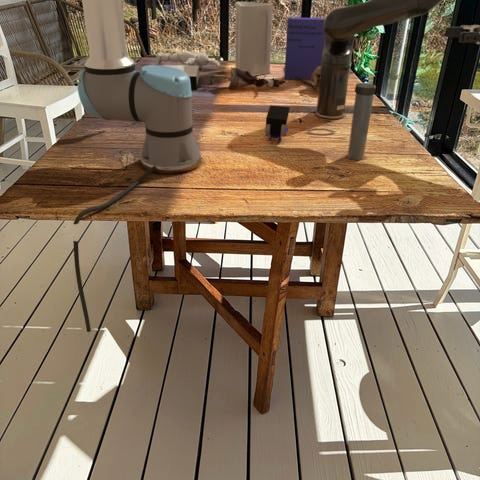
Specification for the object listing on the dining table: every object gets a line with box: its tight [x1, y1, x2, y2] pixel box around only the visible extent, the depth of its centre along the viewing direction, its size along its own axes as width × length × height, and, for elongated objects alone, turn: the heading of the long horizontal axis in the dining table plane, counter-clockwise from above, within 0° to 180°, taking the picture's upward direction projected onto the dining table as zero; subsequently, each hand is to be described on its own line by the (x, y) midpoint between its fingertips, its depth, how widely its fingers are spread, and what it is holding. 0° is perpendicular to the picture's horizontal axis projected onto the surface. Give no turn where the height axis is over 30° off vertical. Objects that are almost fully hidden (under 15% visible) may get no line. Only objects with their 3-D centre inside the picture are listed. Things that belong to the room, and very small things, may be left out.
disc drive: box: [162, 64, 200, 90], centre depth 197 cm, size 18×22×5 cm
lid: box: [354, 82, 377, 95], centre depth 119 cm, size 5×5×2 cm
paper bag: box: [234, 1, 274, 77], centre depth 210 cm, size 19×15×28 cm
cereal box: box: [283, 16, 326, 81], centre depth 202 cm, size 17×5×24 cm, turn 86°
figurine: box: [209, 66, 287, 89], centre depth 190 cm, size 24×8×30 cm
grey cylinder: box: [346, 92, 375, 161], centre depth 124 cm, size 4×4×18 cm
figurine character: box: [264, 105, 290, 143], centre depth 140 cm, size 7×8×15 cm
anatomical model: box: [310, 66, 321, 93], centre depth 190 cm, size 13×9×15 cm
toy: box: [155, 50, 221, 69], centre depth 223 cm, size 24×25×7 cm
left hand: (174, 20), depth 152 cm, fingers open, 13 cm apart
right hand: (452, 34), depth 113 cm, fingers open, 8 cm apart
